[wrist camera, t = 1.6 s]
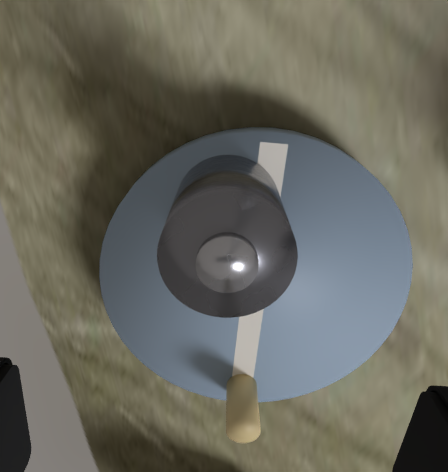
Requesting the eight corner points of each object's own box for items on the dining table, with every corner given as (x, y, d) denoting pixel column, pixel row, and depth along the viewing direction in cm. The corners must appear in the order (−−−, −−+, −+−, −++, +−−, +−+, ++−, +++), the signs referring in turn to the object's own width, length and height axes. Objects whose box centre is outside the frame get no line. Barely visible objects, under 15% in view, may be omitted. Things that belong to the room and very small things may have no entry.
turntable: (99, 112, 20) (62, 129, 16) (441, 142, 21) (500, 166, 16) (111, 376, 28) (89, 438, 23) (363, 393, 28) (389, 458, 24)
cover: (177, 150, 20) (155, 191, 14) (287, 159, 20) (311, 204, 14) (174, 248, 22) (154, 319, 16) (272, 256, 22) (288, 330, 16)
